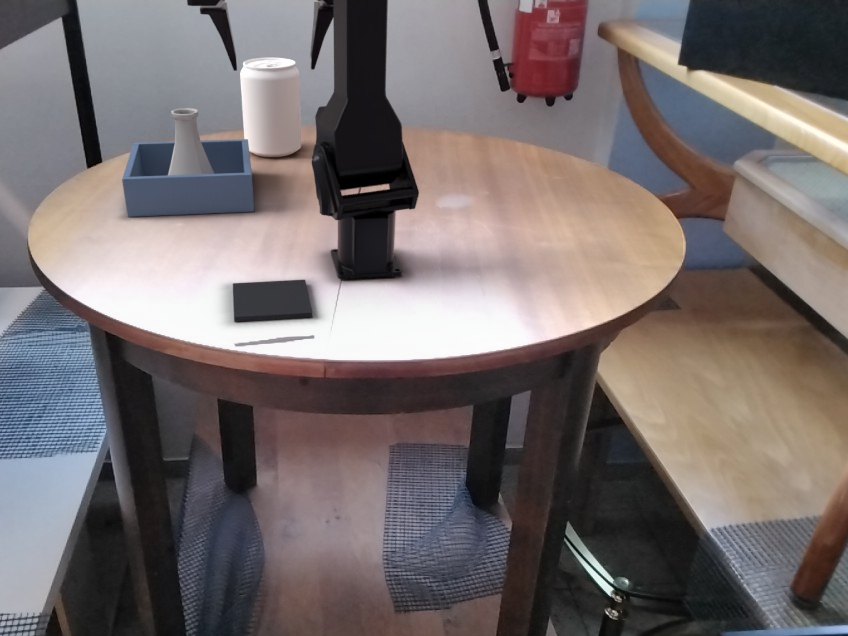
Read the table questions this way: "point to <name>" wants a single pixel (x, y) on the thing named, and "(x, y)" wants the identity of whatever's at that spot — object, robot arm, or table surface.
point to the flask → (188, 145)
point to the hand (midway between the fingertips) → (274, 69)
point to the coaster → (271, 300)
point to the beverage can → (271, 106)
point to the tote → (188, 181)
